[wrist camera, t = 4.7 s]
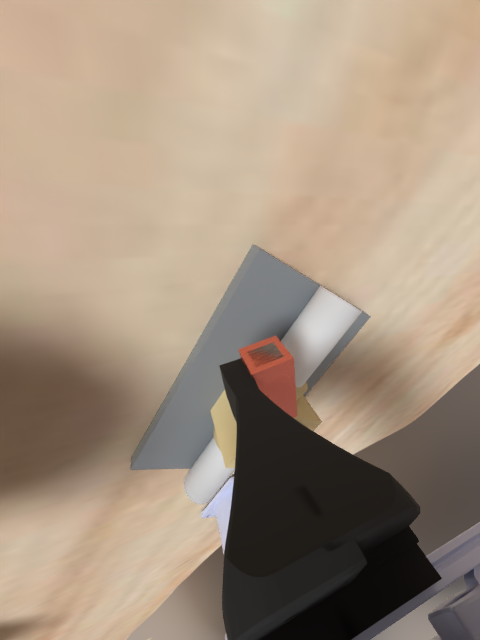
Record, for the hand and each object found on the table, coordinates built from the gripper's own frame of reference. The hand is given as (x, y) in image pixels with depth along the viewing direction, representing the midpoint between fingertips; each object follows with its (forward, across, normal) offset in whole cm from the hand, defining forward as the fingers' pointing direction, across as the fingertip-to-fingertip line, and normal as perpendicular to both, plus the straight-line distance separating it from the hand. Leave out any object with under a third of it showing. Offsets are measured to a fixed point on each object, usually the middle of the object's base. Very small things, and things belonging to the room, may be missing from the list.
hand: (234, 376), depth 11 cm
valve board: (+5, -2, +7) cm, 9 cm away
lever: (0, -2, +3) cm, 4 cm away
